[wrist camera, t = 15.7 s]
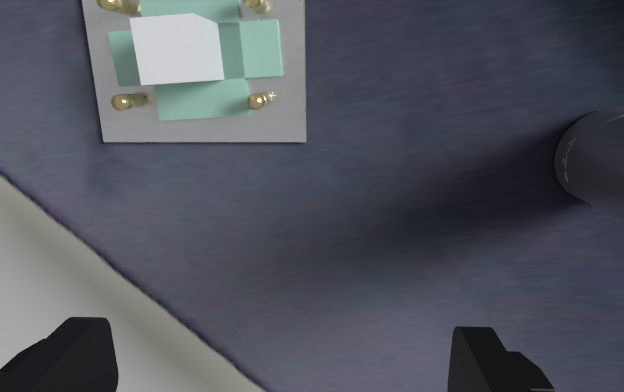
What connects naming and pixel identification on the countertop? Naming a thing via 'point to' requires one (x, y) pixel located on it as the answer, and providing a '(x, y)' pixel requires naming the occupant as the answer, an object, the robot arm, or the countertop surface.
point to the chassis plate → (251, 128)
